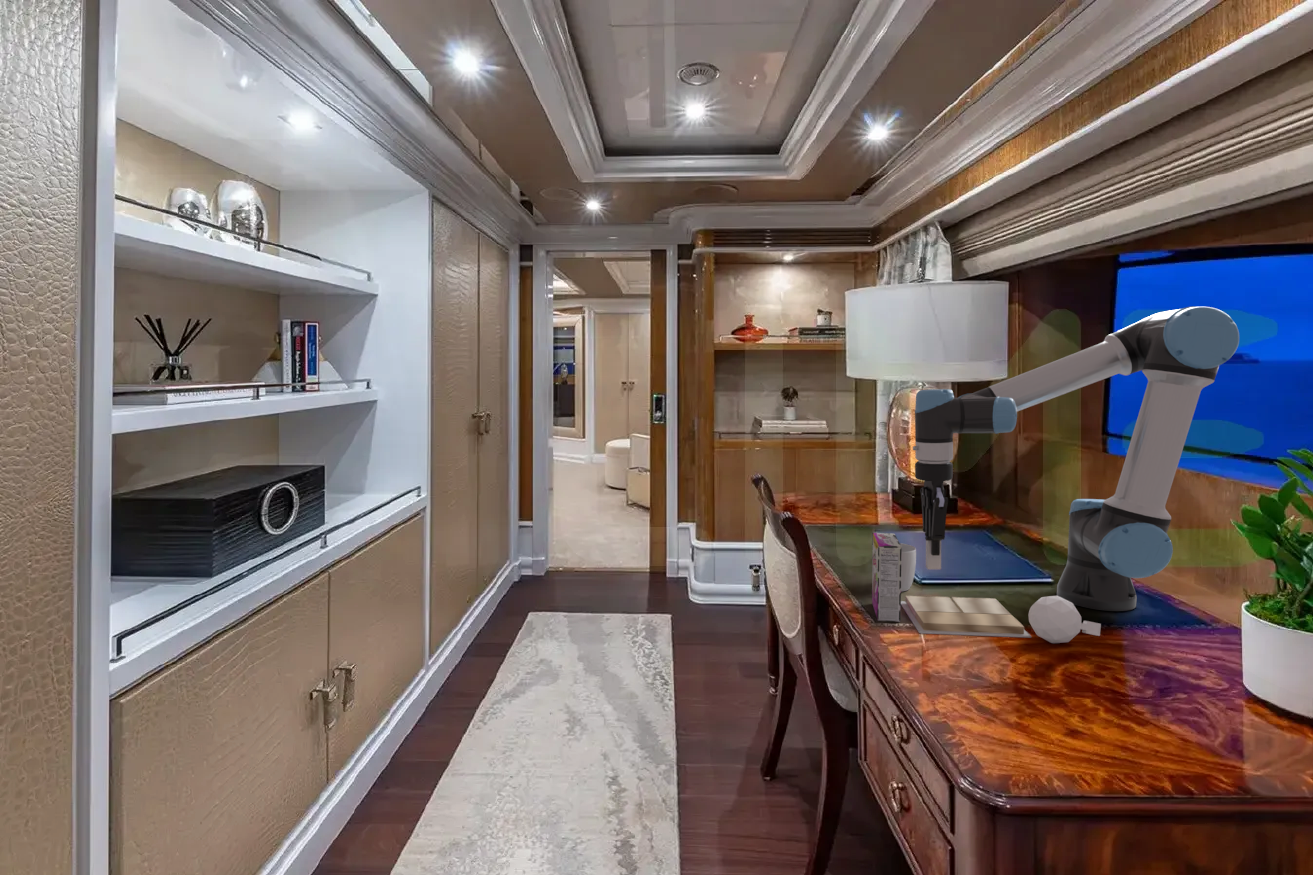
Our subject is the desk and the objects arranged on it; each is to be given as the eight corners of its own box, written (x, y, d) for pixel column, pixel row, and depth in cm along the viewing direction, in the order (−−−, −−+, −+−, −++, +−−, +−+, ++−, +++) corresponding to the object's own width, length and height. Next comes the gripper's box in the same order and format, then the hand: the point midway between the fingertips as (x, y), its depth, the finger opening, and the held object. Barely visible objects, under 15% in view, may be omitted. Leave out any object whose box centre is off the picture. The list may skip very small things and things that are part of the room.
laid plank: (1010, 621, 141) (1011, 614, 141) (1023, 633, 135) (1024, 626, 135) (915, 617, 144) (915, 611, 144) (923, 630, 137) (923, 622, 137)
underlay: (997, 605, 151) (997, 604, 151) (1031, 637, 134) (1031, 636, 134) (899, 602, 154) (899, 601, 154) (919, 633, 136) (919, 631, 136)
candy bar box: (870, 603, 154) (871, 532, 152) (893, 604, 153) (895, 532, 151) (875, 621, 143) (877, 545, 141) (901, 623, 142) (903, 546, 140)
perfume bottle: (1031, 639, 128) (1103, 654, 125) (1036, 590, 130) (1108, 604, 126) (1020, 636, 136) (1088, 650, 133) (1025, 590, 138) (1093, 603, 134)
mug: (909, 596, 158) (910, 554, 157) (870, 589, 163) (871, 548, 162) (923, 581, 169) (924, 542, 167) (886, 575, 174) (887, 537, 173)
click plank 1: (948, 602, 152) (948, 596, 151) (960, 619, 143) (961, 612, 143) (905, 601, 153) (905, 595, 153) (915, 617, 144) (915, 610, 144)
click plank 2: (994, 604, 150) (995, 598, 150) (1010, 620, 142) (1010, 614, 141) (951, 603, 152) (951, 596, 151) (963, 619, 143) (964, 612, 143)
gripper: (908, 457, 154) (908, 559, 156) (923, 465, 141) (923, 577, 143) (943, 456, 153) (942, 559, 155) (961, 465, 140) (961, 577, 142)
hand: (933, 568), depth 149 cm, fingers closed
